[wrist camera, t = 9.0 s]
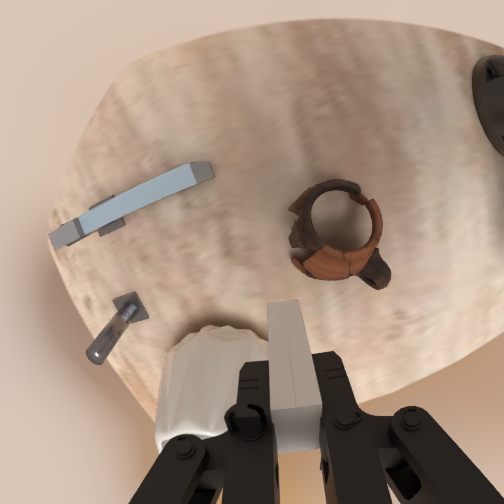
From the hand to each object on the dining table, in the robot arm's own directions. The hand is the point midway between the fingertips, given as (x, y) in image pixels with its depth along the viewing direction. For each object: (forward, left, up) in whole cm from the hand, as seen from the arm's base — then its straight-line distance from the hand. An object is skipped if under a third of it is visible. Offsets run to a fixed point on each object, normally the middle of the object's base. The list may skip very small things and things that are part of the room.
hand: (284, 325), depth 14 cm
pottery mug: (-6, +2, -16) cm, 18 cm away
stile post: (+19, +3, -16) cm, 25 cm away
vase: (+10, +13, -16) cm, 23 cm away
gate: (+10, -9, -16) cm, 20 cm away
